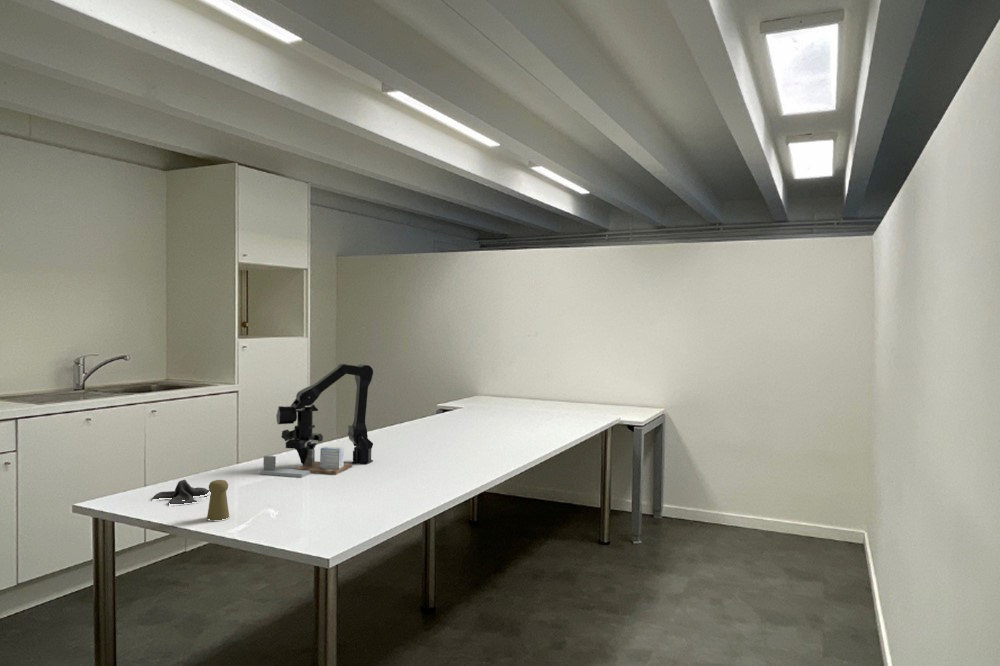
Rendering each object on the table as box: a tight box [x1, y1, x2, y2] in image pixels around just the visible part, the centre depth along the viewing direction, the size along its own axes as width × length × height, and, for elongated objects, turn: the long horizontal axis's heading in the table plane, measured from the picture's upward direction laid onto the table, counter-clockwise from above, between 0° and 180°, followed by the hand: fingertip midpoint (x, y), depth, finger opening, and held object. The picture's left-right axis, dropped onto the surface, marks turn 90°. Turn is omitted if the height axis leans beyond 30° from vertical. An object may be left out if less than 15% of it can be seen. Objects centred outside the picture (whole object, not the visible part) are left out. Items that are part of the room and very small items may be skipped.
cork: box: [206, 479, 230, 520], centre depth 197 cm, size 6×6×11 cm
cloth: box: [151, 479, 209, 504], centre depth 220 cm, size 22×19×6 cm
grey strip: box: [259, 455, 311, 478], centre depth 252 cm, size 17×6×6 cm, turn 77°
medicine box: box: [319, 445, 345, 470], centre depth 260 cm, size 8×4×9 cm, turn 81°
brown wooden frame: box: [294, 448, 353, 476], centre depth 261 cm, size 17×14×7 cm
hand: (304, 462), depth 263 cm, fingers closed on brown wooden frame, 2 cm apart
